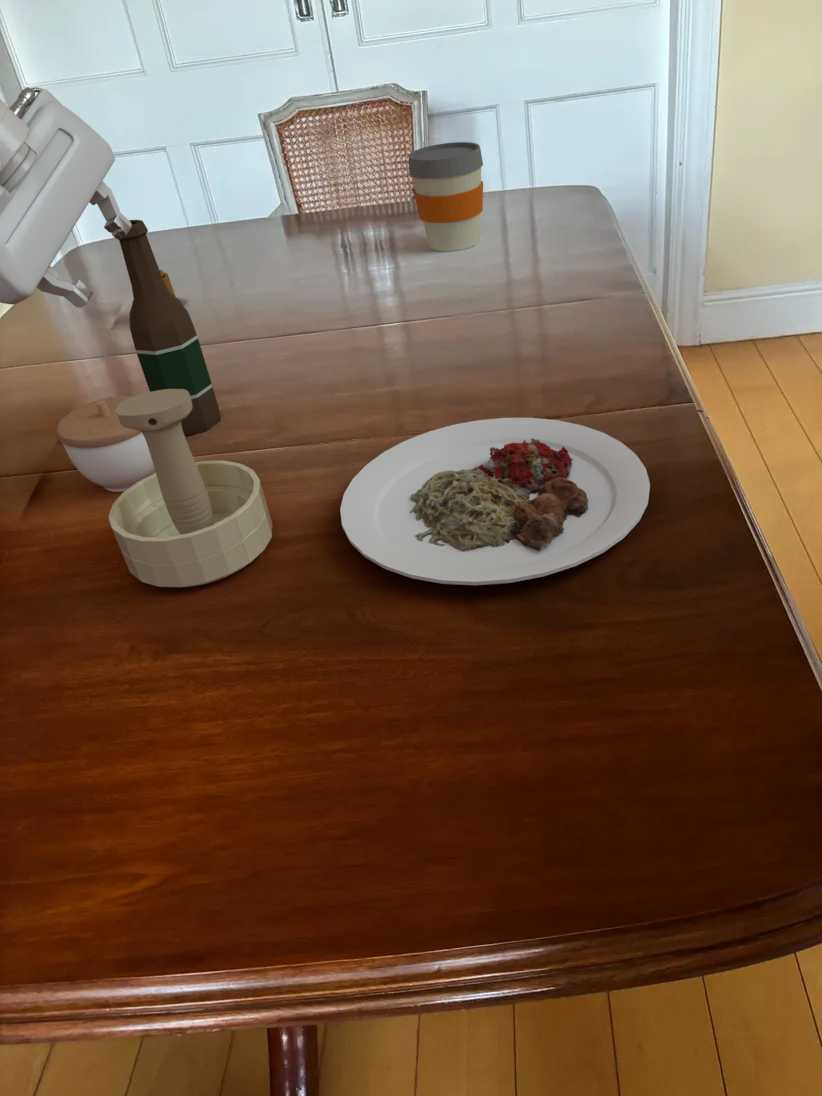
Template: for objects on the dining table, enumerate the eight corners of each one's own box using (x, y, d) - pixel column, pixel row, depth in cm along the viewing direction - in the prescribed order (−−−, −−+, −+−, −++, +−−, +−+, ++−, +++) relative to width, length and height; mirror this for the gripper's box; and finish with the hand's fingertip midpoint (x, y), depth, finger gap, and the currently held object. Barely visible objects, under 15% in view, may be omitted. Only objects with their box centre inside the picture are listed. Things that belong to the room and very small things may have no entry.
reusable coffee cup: (414, 240, 163) (401, 150, 154) (481, 228, 164) (473, 138, 155) (425, 259, 153) (412, 164, 144) (496, 246, 154) (488, 151, 145)
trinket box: (96, 514, 96) (63, 436, 91) (71, 477, 104) (39, 403, 98) (190, 478, 100) (164, 401, 95) (159, 445, 108) (133, 372, 102)
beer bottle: (171, 411, 115) (106, 217, 101) (229, 406, 114) (172, 209, 100) (153, 440, 109) (81, 237, 95) (214, 435, 108) (151, 229, 94)
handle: (171, 535, 89) (120, 397, 80) (235, 523, 90) (191, 384, 81) (166, 562, 86) (112, 420, 77) (233, 550, 86) (186, 407, 77)
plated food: (309, 600, 79) (301, 570, 77) (376, 438, 103) (371, 411, 101) (656, 597, 74) (657, 564, 72) (644, 427, 97) (644, 398, 95)
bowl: (119, 605, 82) (96, 552, 79) (141, 524, 94) (122, 474, 90) (272, 579, 83) (256, 525, 79) (276, 501, 94) (262, 450, 90)
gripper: (14, 89, 85) (129, 205, 94) (-95, 239, 76) (44, 350, 86) (50, 61, 81) (166, 184, 91) (-61, 215, 72) (81, 334, 82)
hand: (106, 266), depth 88 cm, fingers open, 8 cm apart
